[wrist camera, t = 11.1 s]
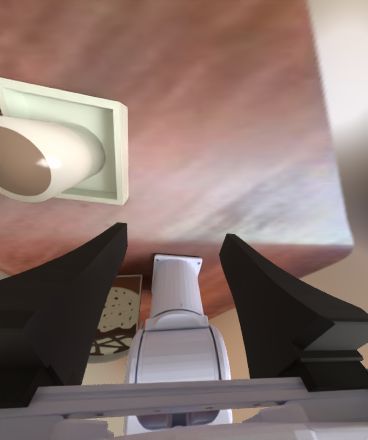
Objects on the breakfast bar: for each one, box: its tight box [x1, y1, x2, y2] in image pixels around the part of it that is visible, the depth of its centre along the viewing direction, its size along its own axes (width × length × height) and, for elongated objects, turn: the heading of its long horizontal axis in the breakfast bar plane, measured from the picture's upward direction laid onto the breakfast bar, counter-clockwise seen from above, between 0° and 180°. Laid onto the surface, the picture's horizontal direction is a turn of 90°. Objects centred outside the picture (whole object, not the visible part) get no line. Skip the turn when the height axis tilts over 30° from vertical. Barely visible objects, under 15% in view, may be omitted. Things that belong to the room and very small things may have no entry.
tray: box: [0, 78, 129, 205], centre depth 16 cm, size 10×10×3 cm
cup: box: [0, 116, 106, 203], centre depth 13 cm, size 5×5×8 cm
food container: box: [87, 275, 144, 363], centre depth 24 cm, size 12×6×10 cm, turn 90°
